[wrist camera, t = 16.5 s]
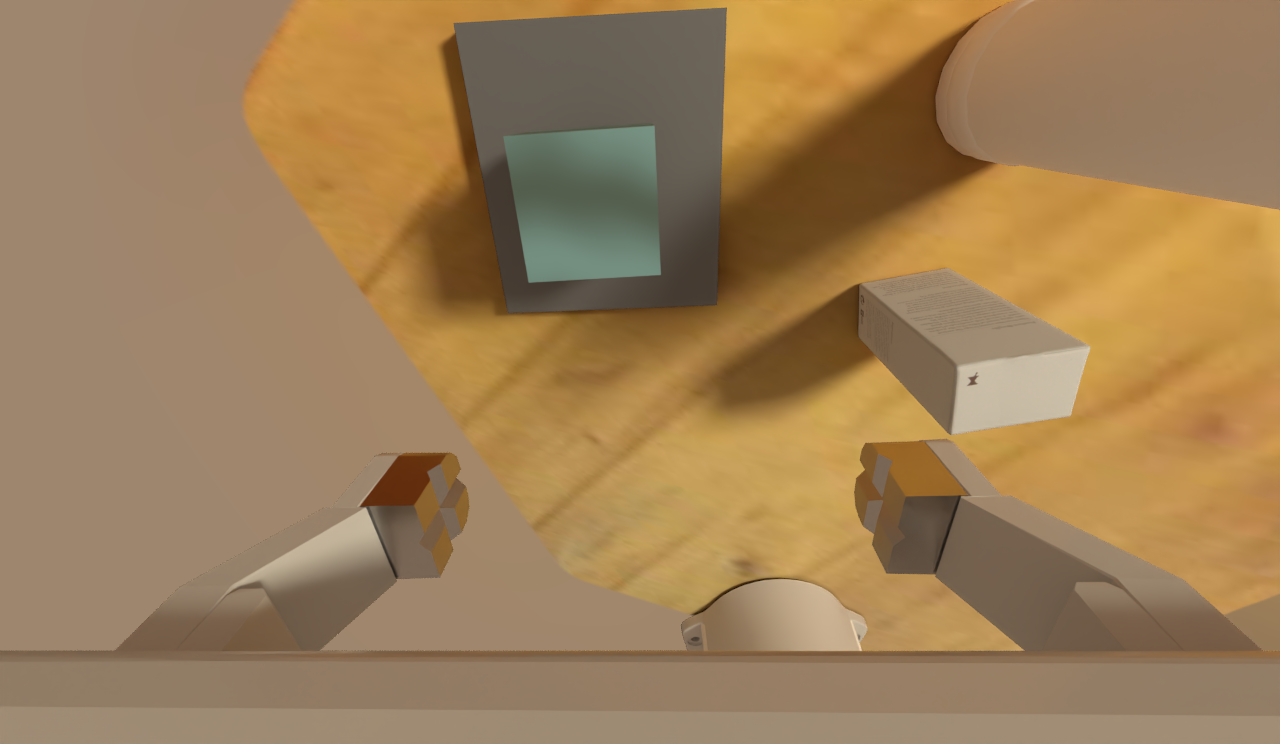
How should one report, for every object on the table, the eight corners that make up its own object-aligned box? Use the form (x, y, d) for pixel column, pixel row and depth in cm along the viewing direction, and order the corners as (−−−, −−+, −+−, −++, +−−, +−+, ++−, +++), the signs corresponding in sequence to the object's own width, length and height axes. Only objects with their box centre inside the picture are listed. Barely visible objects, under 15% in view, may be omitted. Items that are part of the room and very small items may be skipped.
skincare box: (856, 338, 35) (945, 438, 25) (857, 282, 33) (954, 365, 23) (944, 323, 35) (1074, 419, 24) (950, 265, 33) (1095, 343, 22)
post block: (714, 296, 34) (735, 356, 26) (513, 305, 34) (473, 365, 26) (722, 12, 26) (756, -27, 18) (463, 27, 27) (386, -5, 19)
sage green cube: (657, 244, 28) (660, 274, 23) (549, 250, 28) (528, 282, 23) (651, 122, 25) (654, 125, 20) (532, 131, 25) (503, 136, 20)
